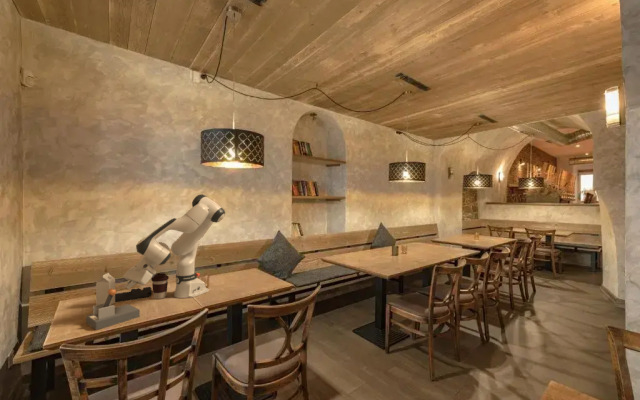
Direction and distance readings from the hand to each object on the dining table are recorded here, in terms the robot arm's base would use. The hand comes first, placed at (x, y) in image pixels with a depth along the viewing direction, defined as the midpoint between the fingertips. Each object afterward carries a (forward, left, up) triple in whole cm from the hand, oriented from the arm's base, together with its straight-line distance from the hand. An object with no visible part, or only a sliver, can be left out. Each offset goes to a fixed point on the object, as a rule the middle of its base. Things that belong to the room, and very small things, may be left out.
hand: (126, 288), depth 161 cm
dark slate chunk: (-17, -33, -17) cm, 40 cm away
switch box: (+5, -2, -16) cm, 17 cm away
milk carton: (-1, -30, -16) cm, 34 cm away
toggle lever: (+10, -2, -10) cm, 14 cm away
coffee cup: (-27, -17, -16) cm, 35 cm away
